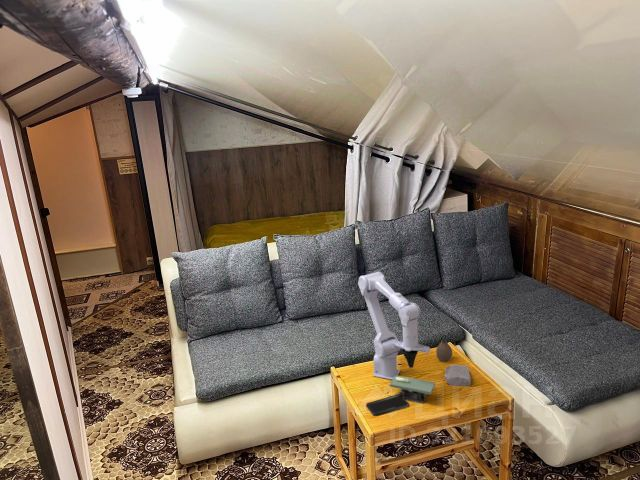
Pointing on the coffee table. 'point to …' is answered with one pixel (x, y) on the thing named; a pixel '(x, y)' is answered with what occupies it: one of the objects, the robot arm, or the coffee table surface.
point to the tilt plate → (412, 384)
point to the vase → (444, 352)
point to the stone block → (457, 375)
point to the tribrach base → (412, 396)
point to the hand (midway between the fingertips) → (411, 366)
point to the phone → (386, 405)
